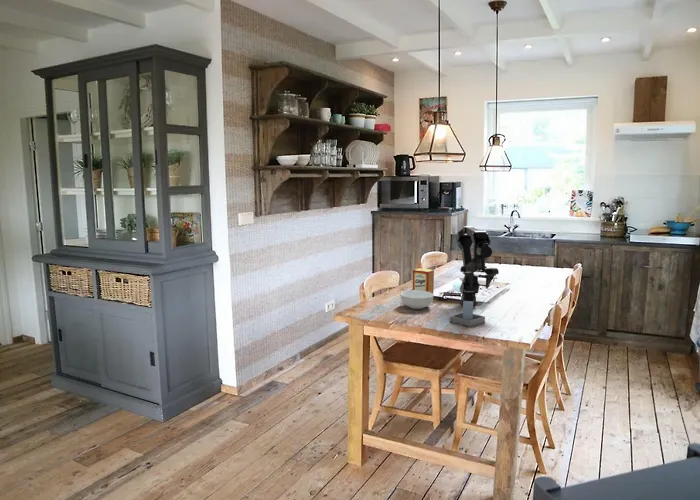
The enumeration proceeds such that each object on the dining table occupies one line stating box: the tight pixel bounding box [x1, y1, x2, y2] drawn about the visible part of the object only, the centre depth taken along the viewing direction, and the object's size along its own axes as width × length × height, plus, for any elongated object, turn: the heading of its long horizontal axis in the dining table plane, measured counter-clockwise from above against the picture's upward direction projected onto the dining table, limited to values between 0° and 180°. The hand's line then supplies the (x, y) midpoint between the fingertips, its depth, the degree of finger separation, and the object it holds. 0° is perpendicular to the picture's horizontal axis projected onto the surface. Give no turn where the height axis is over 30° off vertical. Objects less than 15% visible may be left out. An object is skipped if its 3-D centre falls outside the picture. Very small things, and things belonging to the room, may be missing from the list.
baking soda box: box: [412, 267, 435, 295], centre depth 291 cm, size 10×6×16 cm
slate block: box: [462, 301, 474, 321], centre depth 245 cm, size 4×4×9 cm
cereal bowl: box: [400, 289, 434, 310], centre depth 273 cm, size 17×17×7 cm
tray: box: [449, 312, 486, 328], centre depth 246 cm, size 11×11×3 cm
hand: (478, 287), depth 261 cm, fingers open, 9 cm apart
